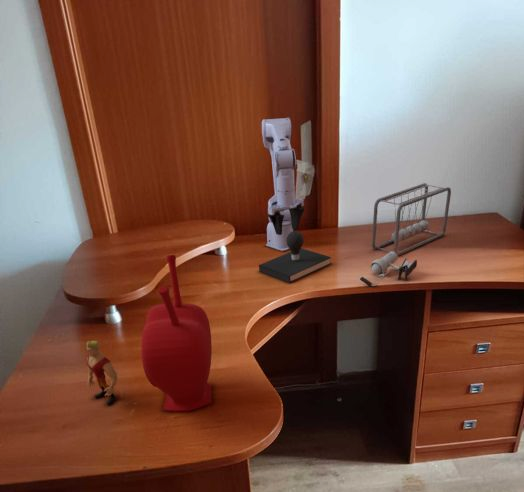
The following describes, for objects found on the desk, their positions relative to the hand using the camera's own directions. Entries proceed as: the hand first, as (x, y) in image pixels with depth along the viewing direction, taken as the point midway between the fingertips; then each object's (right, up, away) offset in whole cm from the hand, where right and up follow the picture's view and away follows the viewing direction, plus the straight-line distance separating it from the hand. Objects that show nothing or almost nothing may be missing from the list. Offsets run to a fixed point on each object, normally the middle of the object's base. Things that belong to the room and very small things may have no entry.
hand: (287, 231), depth 169 cm
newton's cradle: (+45, -1, +14) cm, 47 cm away
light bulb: (+3, -10, -1) cm, 11 cm away
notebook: (+3, -12, 0) cm, 13 cm away
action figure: (-43, -51, -57) cm, 87 cm away
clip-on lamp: (+30, -17, -11) cm, 37 cm away
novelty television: (-24, -50, -58) cm, 80 cm away
